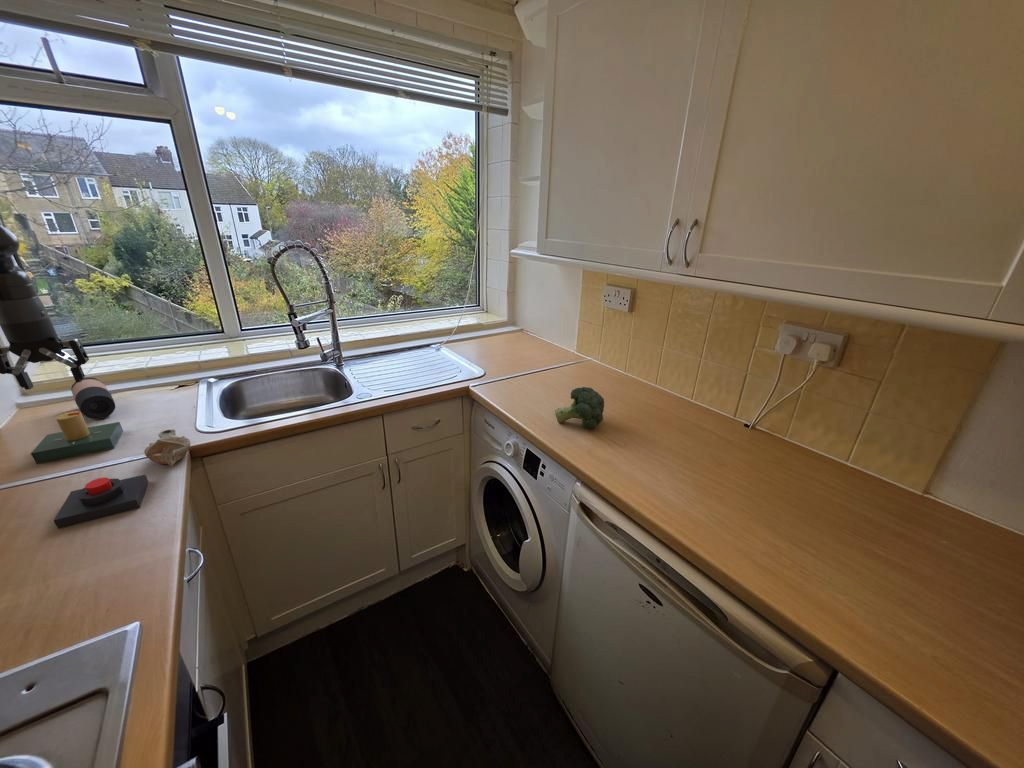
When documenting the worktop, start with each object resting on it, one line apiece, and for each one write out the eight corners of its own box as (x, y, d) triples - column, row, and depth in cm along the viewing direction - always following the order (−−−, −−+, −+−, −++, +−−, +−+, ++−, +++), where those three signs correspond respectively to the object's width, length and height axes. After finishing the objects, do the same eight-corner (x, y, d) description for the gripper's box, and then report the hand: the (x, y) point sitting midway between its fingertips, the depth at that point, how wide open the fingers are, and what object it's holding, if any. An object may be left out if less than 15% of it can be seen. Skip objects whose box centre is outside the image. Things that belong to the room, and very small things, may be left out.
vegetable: (557, 402, 127) (603, 386, 122) (567, 441, 122) (615, 426, 118) (544, 392, 117) (593, 375, 112) (554, 435, 112) (606, 418, 107)
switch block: (58, 529, 77) (48, 512, 75) (75, 499, 85) (67, 484, 83) (139, 508, 83) (133, 492, 81) (148, 482, 91) (142, 467, 89)
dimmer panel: (36, 464, 96) (30, 452, 95) (51, 444, 104) (46, 434, 103) (114, 448, 103) (109, 437, 102) (123, 431, 111) (119, 421, 110)
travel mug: (80, 422, 114) (72, 402, 125) (118, 417, 119) (107, 398, 131) (76, 396, 112) (68, 378, 124) (115, 392, 117) (104, 375, 129)
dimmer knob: (63, 442, 100) (52, 419, 97) (69, 434, 103) (58, 412, 101) (87, 437, 102) (77, 415, 99) (92, 430, 105) (82, 408, 103)
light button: (85, 497, 80) (82, 490, 79) (91, 487, 83) (87, 480, 82) (110, 491, 82) (106, 484, 81) (114, 482, 85) (111, 475, 84)
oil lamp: (148, 484, 90) (132, 446, 86) (149, 444, 105) (136, 410, 101) (196, 470, 95) (183, 433, 91) (190, 434, 110) (179, 401, 106)
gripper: (73, 311, 96) (100, 374, 103) (-15, 317, 89) (19, 385, 96) (62, 318, 90) (90, 384, 97) (-34, 325, 83) (4, 396, 90)
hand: (55, 384), depth 96 cm, fingers open, 8 cm apart
